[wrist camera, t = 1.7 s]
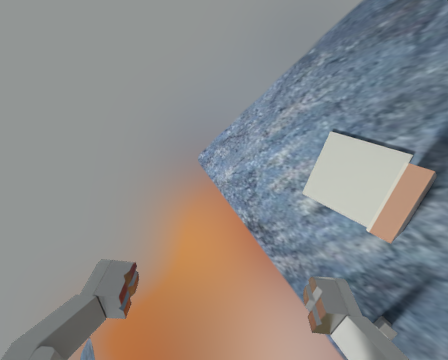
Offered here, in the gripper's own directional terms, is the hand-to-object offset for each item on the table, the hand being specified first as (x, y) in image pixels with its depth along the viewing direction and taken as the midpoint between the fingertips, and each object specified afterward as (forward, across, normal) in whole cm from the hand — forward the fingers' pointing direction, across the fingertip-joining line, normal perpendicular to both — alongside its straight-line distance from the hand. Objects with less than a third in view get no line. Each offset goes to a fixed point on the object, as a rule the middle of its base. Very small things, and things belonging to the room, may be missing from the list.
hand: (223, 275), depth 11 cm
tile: (+23, -31, +11) cm, 40 cm away
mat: (+30, -24, +12) cm, 41 cm away
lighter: (+13, -30, +30) cm, 44 cm away
